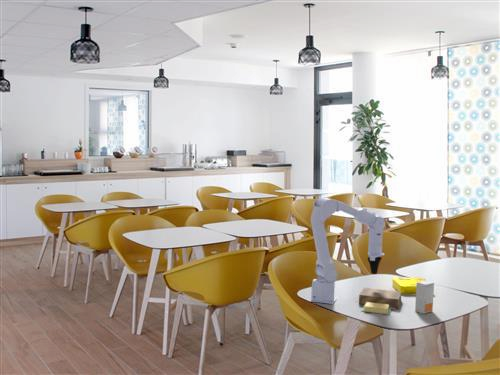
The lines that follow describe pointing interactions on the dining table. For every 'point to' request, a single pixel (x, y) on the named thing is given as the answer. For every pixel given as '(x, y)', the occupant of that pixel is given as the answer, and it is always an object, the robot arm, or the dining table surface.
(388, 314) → the mat
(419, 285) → the skincare box
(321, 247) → the robot arm
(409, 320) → the dining table surface
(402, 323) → the dining table surface
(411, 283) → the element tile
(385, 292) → the plate
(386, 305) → the yellow block
